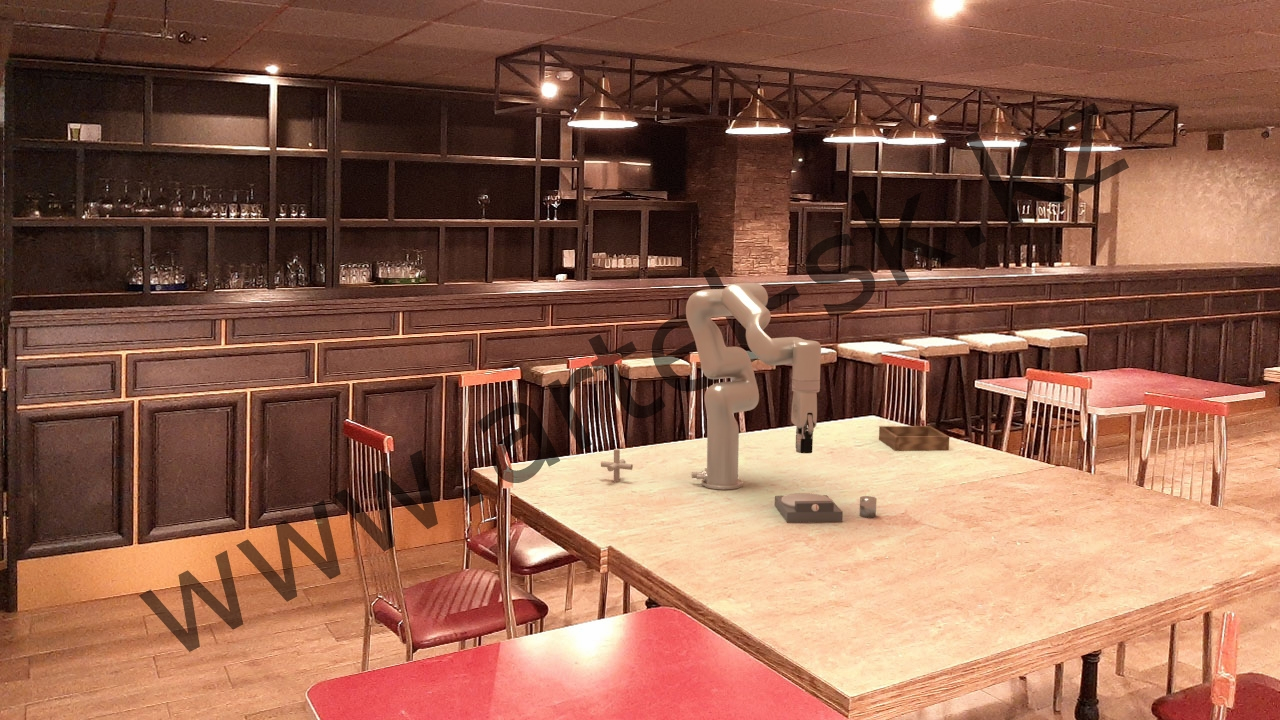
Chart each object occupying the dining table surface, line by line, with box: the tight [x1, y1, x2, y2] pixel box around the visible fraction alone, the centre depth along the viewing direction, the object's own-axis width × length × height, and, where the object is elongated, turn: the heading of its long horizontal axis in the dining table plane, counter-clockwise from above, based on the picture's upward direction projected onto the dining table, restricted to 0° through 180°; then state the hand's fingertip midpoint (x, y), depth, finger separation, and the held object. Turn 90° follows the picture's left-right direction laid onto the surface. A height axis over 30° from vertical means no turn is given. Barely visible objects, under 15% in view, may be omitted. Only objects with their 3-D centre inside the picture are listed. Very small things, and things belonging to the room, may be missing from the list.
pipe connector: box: [600, 448, 634, 483], centre depth 317 cm, size 10×10×10 cm
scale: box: [774, 492, 844, 524], centre depth 283 cm, size 15×17×5 cm
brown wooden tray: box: [878, 425, 950, 452], centre depth 373 cm, size 19×19×5 cm
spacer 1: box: [795, 432, 802, 454], centre depth 284 cm, size 4×4×5 cm
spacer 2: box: [858, 495, 877, 519], centre depth 281 cm, size 4×4×5 cm
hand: (803, 450), depth 284 cm, fingers closed on spacer 1, 4 cm apart
